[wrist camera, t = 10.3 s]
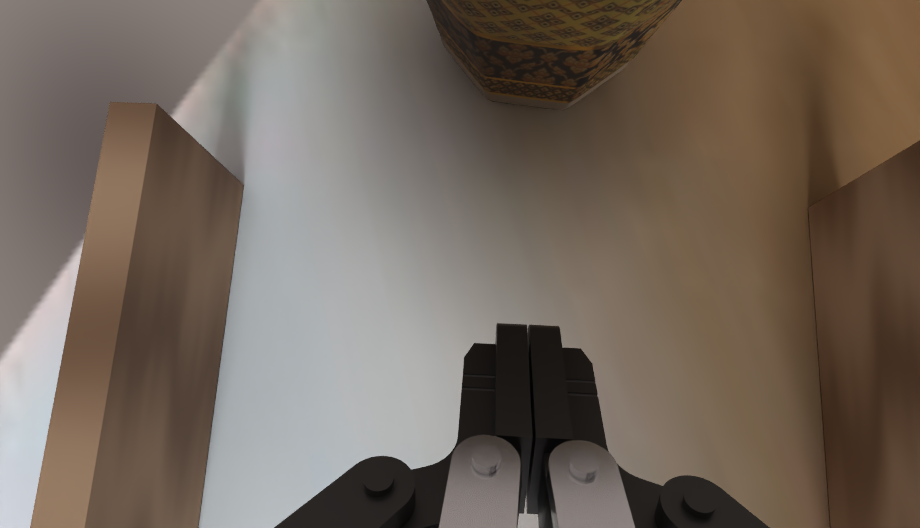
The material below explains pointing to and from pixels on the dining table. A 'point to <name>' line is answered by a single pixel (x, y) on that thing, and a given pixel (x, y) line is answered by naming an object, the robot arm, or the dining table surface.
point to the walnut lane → (205, 307)
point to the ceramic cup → (545, 44)
